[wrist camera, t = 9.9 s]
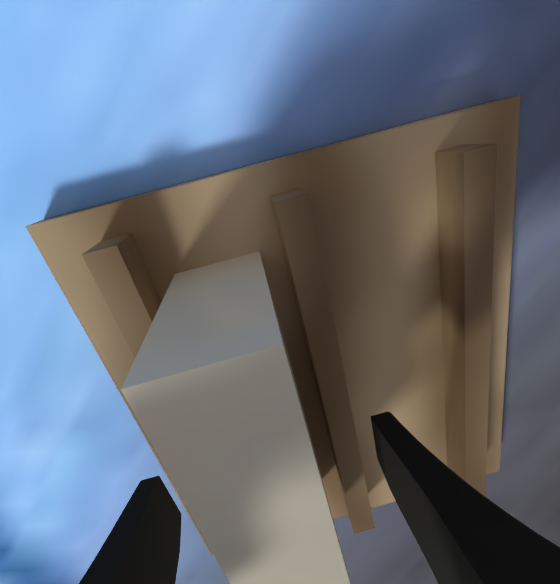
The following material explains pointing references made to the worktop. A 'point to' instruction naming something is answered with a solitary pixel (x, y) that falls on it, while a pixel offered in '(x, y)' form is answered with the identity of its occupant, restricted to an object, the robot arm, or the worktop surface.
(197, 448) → the cream rectangular block
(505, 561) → the robot arm
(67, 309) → the worktop surface
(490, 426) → the ridged tan board
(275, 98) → the worktop surface
